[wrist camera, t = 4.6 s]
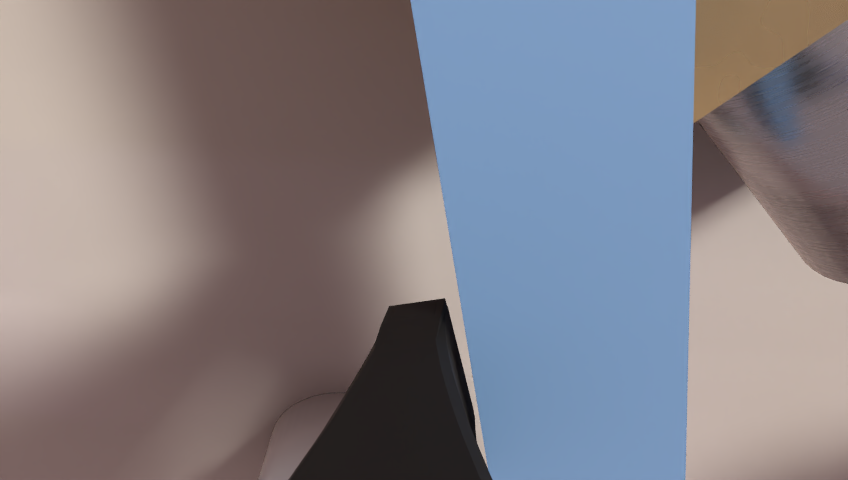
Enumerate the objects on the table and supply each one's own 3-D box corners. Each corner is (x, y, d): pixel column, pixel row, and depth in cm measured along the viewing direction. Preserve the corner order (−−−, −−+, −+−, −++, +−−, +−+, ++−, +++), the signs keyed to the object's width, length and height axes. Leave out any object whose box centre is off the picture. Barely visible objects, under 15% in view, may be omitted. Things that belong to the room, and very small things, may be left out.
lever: (695, -873, 6) (810, -1197, 4) (677, 446, 13) (713, 579, 11) (271, -753, 6) (169, -986, 4) (479, 458, 13) (478, 588, 11)
